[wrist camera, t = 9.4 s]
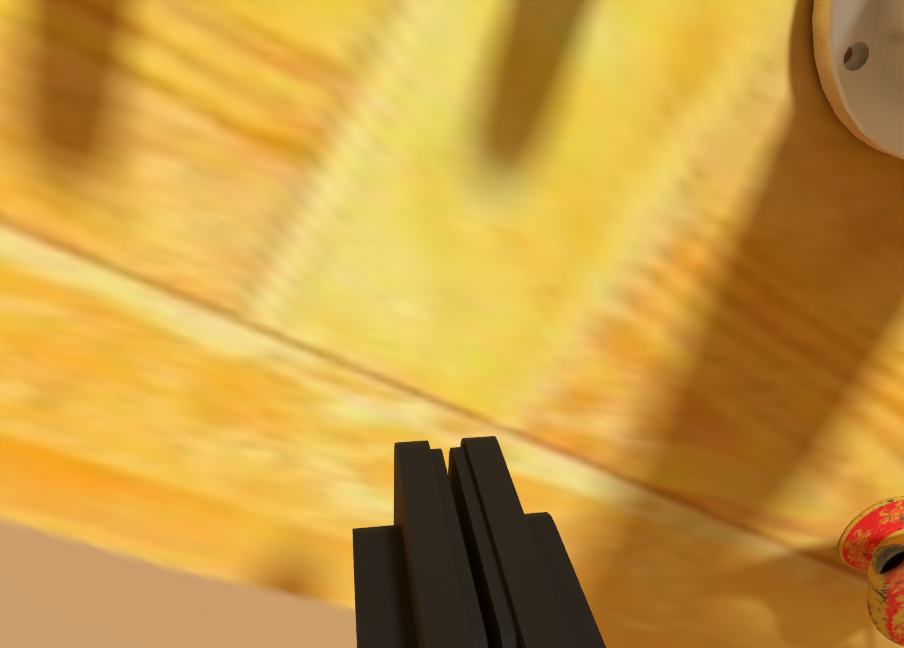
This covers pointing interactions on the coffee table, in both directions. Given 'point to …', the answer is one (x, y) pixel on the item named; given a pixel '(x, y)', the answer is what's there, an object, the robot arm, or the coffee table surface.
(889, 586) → the magic lamp
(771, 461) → the coffee table surface
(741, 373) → the coffee table surface
